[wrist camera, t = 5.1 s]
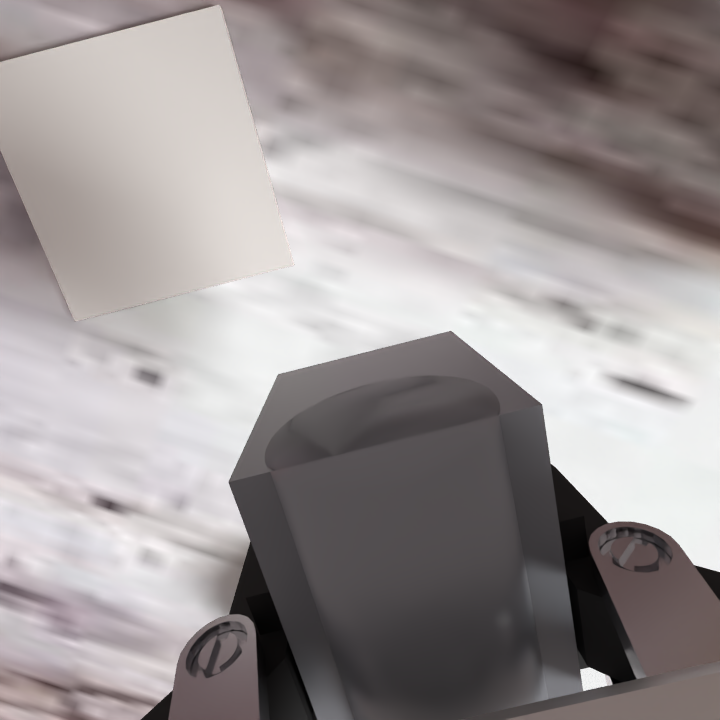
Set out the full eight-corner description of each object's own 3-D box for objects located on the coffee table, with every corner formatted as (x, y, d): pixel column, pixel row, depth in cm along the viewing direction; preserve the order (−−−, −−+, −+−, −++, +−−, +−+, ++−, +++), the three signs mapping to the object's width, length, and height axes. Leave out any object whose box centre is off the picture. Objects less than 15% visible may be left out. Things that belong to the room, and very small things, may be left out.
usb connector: (451, 331, 11) (580, 436, 5) (512, 646, 13) (642, 953, 8) (278, 374, 11) (206, 528, 5) (373, 679, 14) (399, 1007, 8)
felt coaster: (222, 11, 20) (219, 4, 20) (294, 265, 24) (293, 265, 23) (-25, 75, 20) (-35, 70, 20) (81, 320, 24) (74, 321, 23)
